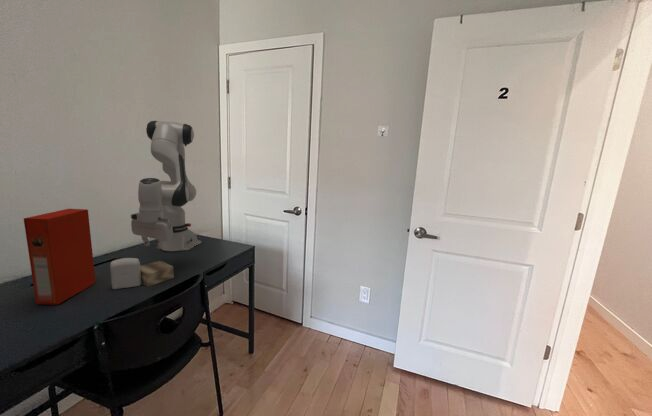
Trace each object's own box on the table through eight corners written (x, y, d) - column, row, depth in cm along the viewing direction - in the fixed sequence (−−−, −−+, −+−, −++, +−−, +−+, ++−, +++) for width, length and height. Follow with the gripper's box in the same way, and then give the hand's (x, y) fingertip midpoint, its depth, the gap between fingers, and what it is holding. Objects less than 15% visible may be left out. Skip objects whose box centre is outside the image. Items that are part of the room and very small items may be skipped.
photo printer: (110, 290, 113) (108, 261, 111) (112, 286, 117) (110, 258, 115) (140, 286, 118) (139, 259, 116) (142, 282, 122) (140, 255, 119)
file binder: (35, 304, 101) (23, 217, 95) (75, 282, 118) (67, 208, 112) (58, 305, 101) (48, 219, 95) (95, 283, 118) (88, 209, 112)
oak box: (161, 272, 133) (160, 260, 132) (173, 278, 127) (173, 266, 126) (135, 280, 124) (134, 267, 123) (148, 287, 118) (147, 274, 117)
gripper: (176, 218, 120) (177, 248, 122) (141, 212, 126) (142, 241, 129) (163, 221, 114) (165, 253, 117) (127, 214, 120) (129, 245, 123)
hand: (153, 246), depth 123 cm, fingers open, 6 cm apart
